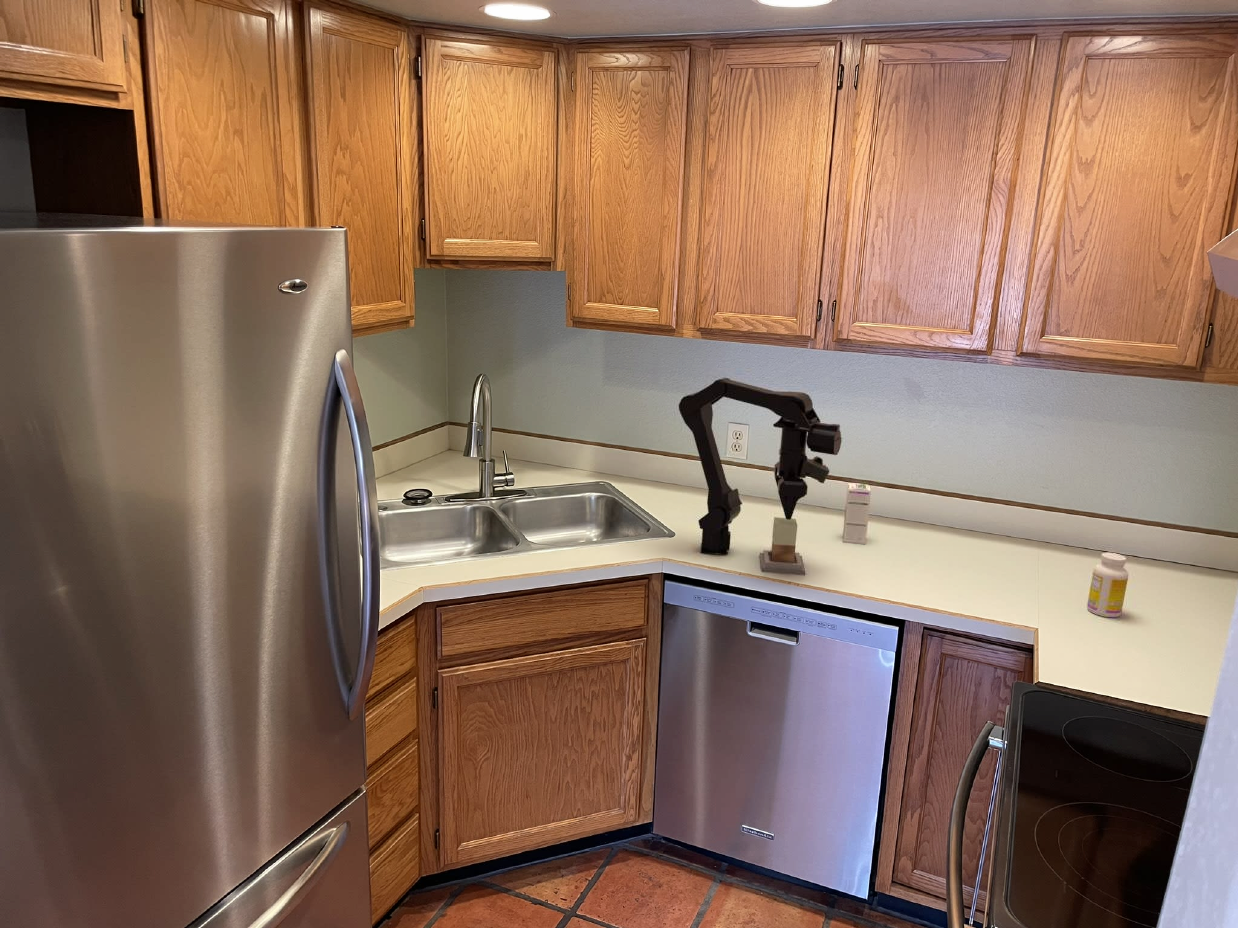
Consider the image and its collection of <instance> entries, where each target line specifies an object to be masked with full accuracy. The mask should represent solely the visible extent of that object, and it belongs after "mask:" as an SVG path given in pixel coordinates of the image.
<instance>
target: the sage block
mask: <svg viewBox="0 0 1238 928" xmlns="http://www.w3.org/2000/svg"><path fill="white" fill-rule="evenodd" d="M797 534H798V523H797V519H796V518H794V517H793V518H792V517H791V519H790V520H788V519H786V517H777V516H774V517H773V525H772V538H771V539H773V543H774V544H777V545H791V546H795V545H796V542H797ZM796 546H797V545H796Z"/></svg>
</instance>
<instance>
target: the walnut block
mask: <svg viewBox="0 0 1238 928" xmlns="http://www.w3.org/2000/svg"><path fill="white" fill-rule="evenodd" d="M771 539H772V543H771V550H770V551H771V561H772V562H784V563H794V558H795V552H796V546H797V545H795V546H791V545H777V544H774V543H773V538H771Z"/></svg>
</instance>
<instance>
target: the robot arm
mask: <svg viewBox="0 0 1238 928" xmlns="http://www.w3.org/2000/svg"><path fill="white" fill-rule="evenodd" d="M723 398H727V399H729V400H730V399H731V400H734V401H738V402H741V403H745V404H751V405H754V406H758V407H760V408H764V409H767V410H769V411H771V412H772V413H774V414H775V415H776V416H779V417H780V418H779V419H778V420H777V421H776V422H775V423H773V424H772V426H773V428H779V429H781V435H780V436H781V437H780V448H779V450H778V455H779V458H778V459H779V461H777V462H776V463H775V464H774V468H773V469H774V470H773V474H774V480H775V483H776V486H777V492H778V497H779V500H780V502H781V503H780V504H781V507H782V510H783V512H784V513H783V514H784V518H786V519H788V520H790V519H791V518H792V517H793V515H794V512H795V509H796V506H797V503H798V501H799V500H800V499H802V498H804V497H806V495H808V483H807V482H806V481H805V479H806V478H807V477H809V478H811V479H812V480H813V479H814V480H815V481H818V483H821V484H825V482H826V479H827V477H828V475H829V474H830V469H829V467H828V466H826V465H825V464H824V462H823V461H824V460H823V458H822V457H820V456H814V457H813V458H808V456H807V453H806V447H807V449H810V452H813V453H821V454H825V455H831V456H837V455H838V454H839V452H840V450H841V447H842V441H843V440H842V439H843V438H842V432H841V425H840V424H839V423H823V422H821V419H820V418H819V415H818V414H817V412H816V410H815V409H814V407H813V405H814V404H813V401H812V399H811V398H812V397H810V395H809V394H808V393H805V392H802V391H775V390H771V389H767V388H763V387H761V386H756V385H751V384H748V383H744V382H740V381H737V380H736V381H735V380H732V379H730V378H728V377H723V378H719V379H716V380H714V381H713V383H711V384H709V385H708V386H706V387H704V388H702V389H701V390H700V391H698V392H694V393H691V394H690V393H689V394H687V395H684V396H683V397H682V398H681V399H680V401H679V402H678V411H679V413H680V415H681V418H682V420H683V423H684V424H685V425H686V426H687V428H689V430H690V431H691V432H692V435H693V439H694V441H695V447H696V449H697V450H696V451H697V454H698V456H699V460H700V464H701V468H702V471H703V474H704V479H705V483H706V484H707V485H706V486H707V490H708V491H707V502H706V506H707V513H706V514H705V515H704V516H702V517H701V518H699V519H698V520H697V521H698V526H699V529H701V530H702V531H701V533H702V534H701V535H702V536H701V542H700V553H701V554H709V555H710V554H711V555H724V556H725V555H726V556H727V555H728V551H730V549H731V548H730V545H731V538H732V537H731V536H732V535H731V531H730V528H729V525H730V524H732V522H733V520H734V519H736V518H737V517H738V516H739V515H740V513H741V510H742V509H741V508H742V505H743V502H742V501H741V498H740V493H739V490H738V488H731V486H730V485H729V484H728V482H727V478H726V475H725V470H724V467H723V463H722V461H721V456H720V453H719V449H718V445H717V442H716V439H715V436H714V432H713V431H714V430H713V428H712V427H713V424H712V423H713V416H714V410H713V405H714V404H716V403H717V402H719V401H720V400H722V399H723ZM806 476H807V477H806Z"/></svg>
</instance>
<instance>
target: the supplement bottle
mask: <svg viewBox="0 0 1238 928" xmlns="http://www.w3.org/2000/svg"><path fill="white" fill-rule="evenodd" d="M1100 556H1101V557H1100V563H1098V564H1096V565H1095V566H1094V567H1093V571H1092V576H1091V581H1090V587H1089V593H1088V597H1087V603H1086V604H1087V605H1086V608H1087V610H1088V611H1089V612H1091V613H1093V614H1095V615H1097V616H1100V617H1105V618H1117V617H1120V616H1121V614H1122V611H1123V606H1124V603H1125V596H1126V591H1127V585H1128V580H1129V571H1128V570H1127V569H1126V568H1125V565H1126V564H1127V558H1126V556H1124V555H1122V554H1118V553H1114V552H1103V553H1101V555H1100Z"/></svg>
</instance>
